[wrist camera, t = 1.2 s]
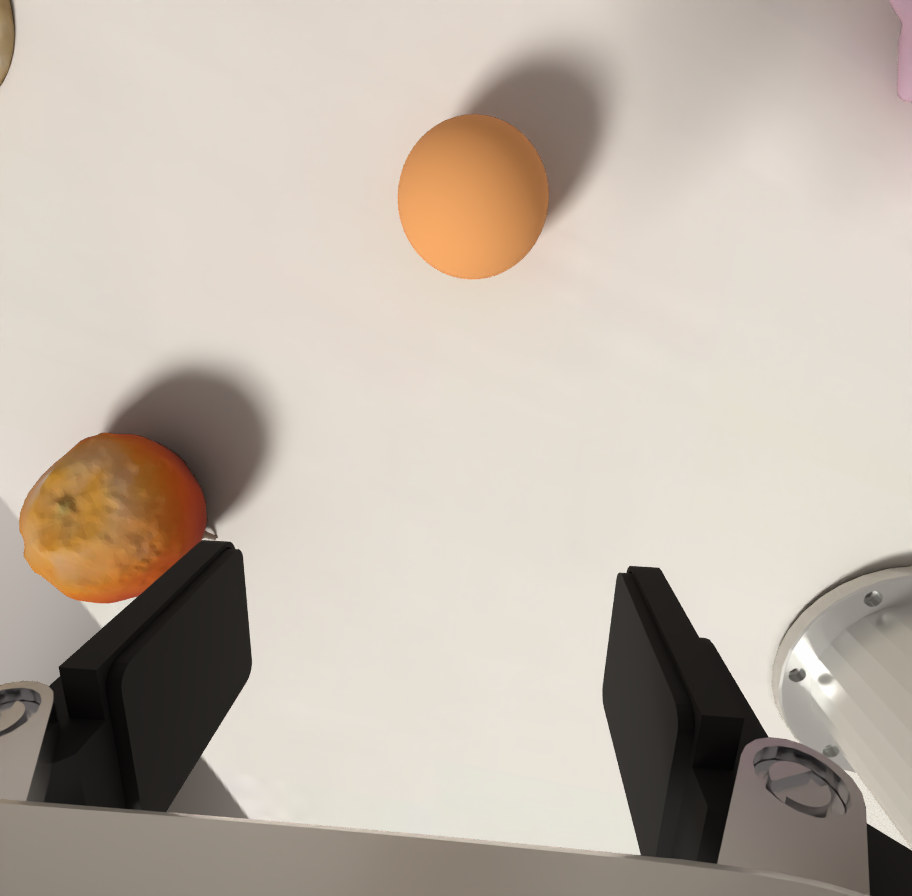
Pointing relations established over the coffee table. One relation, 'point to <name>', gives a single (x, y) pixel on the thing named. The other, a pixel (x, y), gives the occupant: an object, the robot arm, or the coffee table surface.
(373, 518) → the coffee table surface
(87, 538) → the fruit
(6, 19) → the hand bell
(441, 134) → the ball
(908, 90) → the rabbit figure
